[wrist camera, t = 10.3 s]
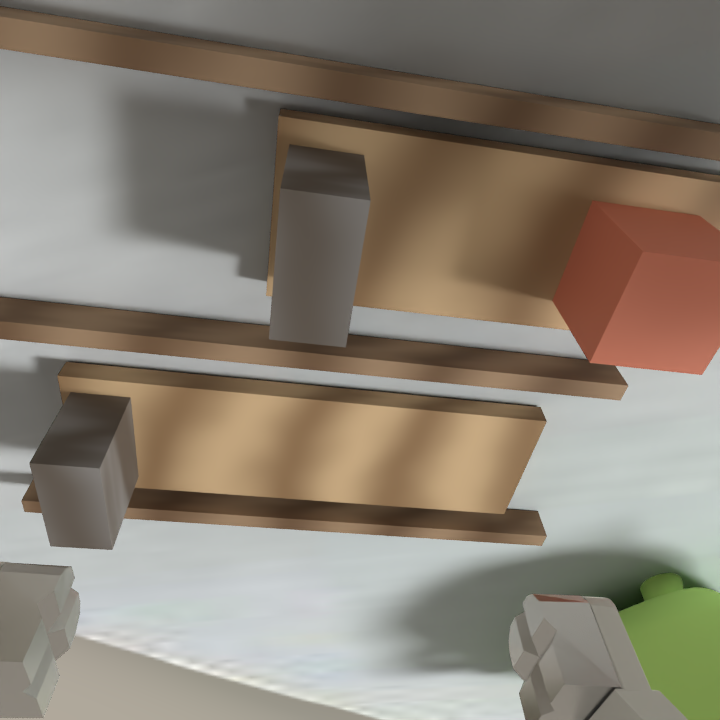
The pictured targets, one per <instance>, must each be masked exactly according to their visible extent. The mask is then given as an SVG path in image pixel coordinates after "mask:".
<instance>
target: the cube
mask: <svg viewBox="0 0 720 720" xmlns="http://www.w3.org/2000/svg"><path fill="white" fill-rule="evenodd" d="M552 301H553V303H554V305H555V306H556V308H557V309H558V311H559V313H560V314H561V316H562V318H563V319H564V321H565V323H566V324H567V326H568V328H569V329H570V331H571V333H572V334H573V336H574V338H575V339H576V341H577V343H578V344H579V346H580V347H581V349H582V351H583V352H584V354H585V356H586V357H587V359H588V361H589V362H590V363H596V364H605V365H615V366H624V367H633V368H643V369H652V370H661V371H671V372H680V373H689V374H699V375H702V374H703V372H704V371H705V369H706V368H707V366H708V364H709V363H710V361H711V360H712V358H713V356H714V355H715V353H716V352H717V350H718V348H719V347H720V231H719V230H718V229H716V228H715V227H714V226H712V225H711V224H710V223H708V222H707V221H706V220H705V219H703V218H702V217H701V216H698V215H691V214H684V213H677V212H670V211H663V210H656V209H649V208H642V207H635V206H628V205H621V204H614V203H607V202H600V201H593V200H592V203H591V205H590V208H589V210H588V213H587V215H586V218H585V220H584V223H583V225H582V228H581V230H580V233H579V235H578V238H577V240H576V243H575V245H574V248H573V250H572V253H571V255H570V258H569V260H568V263H567V265H566V268H565V270H564V273H563V275H562V278H561V280H560V283H559V285H558V288H557V290H556V293H555V295H554V298H553V300H552Z"/></svg>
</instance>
